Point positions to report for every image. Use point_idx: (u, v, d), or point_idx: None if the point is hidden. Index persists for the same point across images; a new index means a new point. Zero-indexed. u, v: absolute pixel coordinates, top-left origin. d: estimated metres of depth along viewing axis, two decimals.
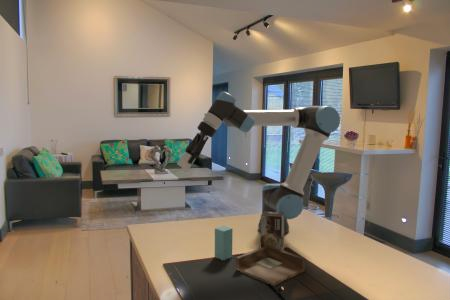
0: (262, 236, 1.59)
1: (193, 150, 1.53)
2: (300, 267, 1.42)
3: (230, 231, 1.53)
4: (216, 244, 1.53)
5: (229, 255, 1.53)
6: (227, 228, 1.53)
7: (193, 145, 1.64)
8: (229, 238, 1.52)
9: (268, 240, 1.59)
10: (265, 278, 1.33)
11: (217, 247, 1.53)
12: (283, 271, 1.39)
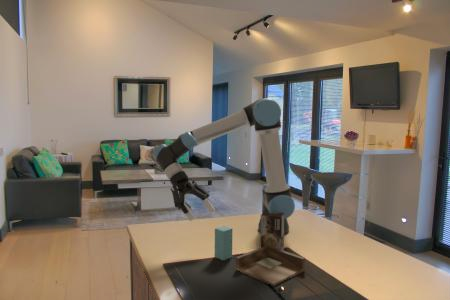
0: (262, 236, 1.59)
1: None
2: (300, 267, 1.42)
3: (230, 231, 1.53)
4: (216, 244, 1.53)
5: (229, 255, 1.53)
6: (227, 228, 1.53)
7: (195, 193, 1.66)
8: (229, 238, 1.52)
9: (268, 240, 1.59)
10: (265, 278, 1.33)
11: (217, 247, 1.53)
12: (283, 271, 1.39)
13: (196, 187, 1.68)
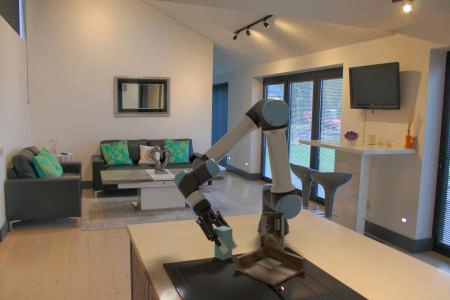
0: (262, 236, 1.59)
1: None
2: (300, 267, 1.42)
3: (230, 231, 1.53)
4: None
5: (229, 255, 1.53)
6: (227, 228, 1.53)
7: (217, 224, 1.58)
8: (229, 238, 1.52)
9: (268, 240, 1.59)
10: (265, 278, 1.33)
11: (216, 247, 1.53)
12: (283, 271, 1.39)
13: (219, 218, 1.60)
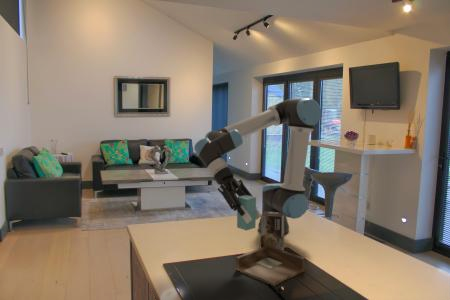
0: (262, 236, 1.59)
1: None
2: (300, 267, 1.42)
3: (254, 200, 1.45)
4: None
5: (252, 225, 1.46)
6: (250, 197, 1.46)
7: (239, 194, 1.51)
8: (252, 207, 1.45)
9: (268, 240, 1.59)
10: (265, 278, 1.33)
11: (239, 217, 1.46)
12: (283, 271, 1.39)
13: (241, 187, 1.53)
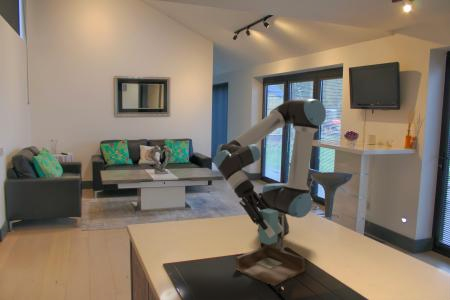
0: None
1: (255, 218, 1.43)
2: (300, 267, 1.42)
3: (276, 213, 1.43)
4: (261, 227, 1.44)
5: (274, 239, 1.44)
6: (273, 210, 1.44)
7: (260, 207, 1.48)
8: (275, 221, 1.43)
9: None
10: (265, 278, 1.33)
11: (261, 231, 1.44)
12: (283, 271, 1.39)
13: (262, 200, 1.51)
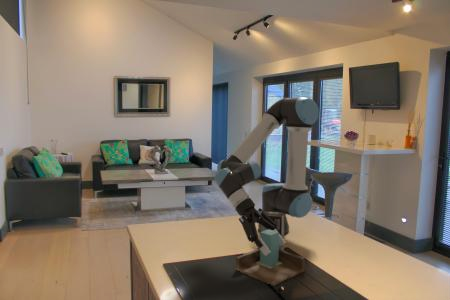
0: None
1: None
2: (300, 267, 1.42)
3: (277, 235, 1.45)
4: None
5: (275, 260, 1.45)
6: (273, 232, 1.45)
7: (262, 223, 1.51)
8: (276, 242, 1.44)
9: None
10: (265, 278, 1.33)
11: (262, 252, 1.45)
12: (283, 271, 1.39)
13: (263, 216, 1.53)
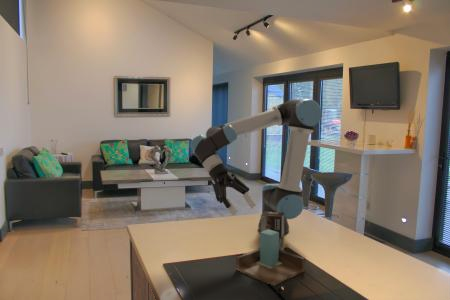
0: None
1: None
2: (300, 267, 1.42)
3: (277, 235, 1.45)
4: (262, 249, 1.45)
5: (275, 260, 1.45)
6: (273, 232, 1.45)
7: (235, 187, 1.58)
8: (276, 242, 1.44)
9: None
10: (265, 278, 1.33)
11: (262, 252, 1.45)
12: (283, 271, 1.39)
13: (235, 180, 1.60)
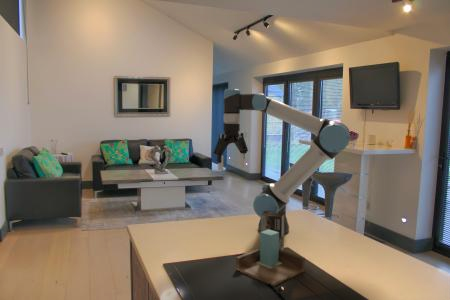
0: None
1: None
2: (300, 267, 1.42)
3: (277, 235, 1.45)
4: (262, 249, 1.45)
5: (275, 260, 1.45)
6: (273, 232, 1.45)
7: (237, 145, 1.81)
8: (276, 242, 1.44)
9: None
10: (265, 278, 1.33)
11: (262, 252, 1.45)
12: (283, 271, 1.39)
13: (241, 139, 1.82)
